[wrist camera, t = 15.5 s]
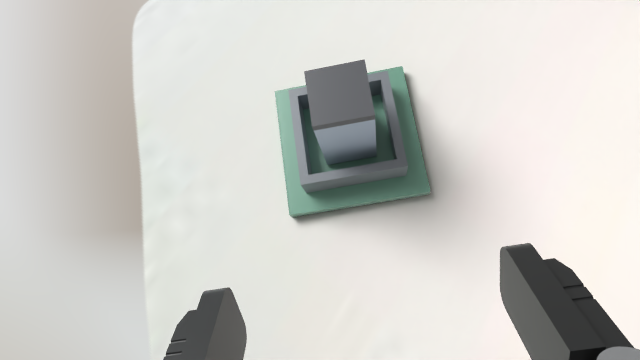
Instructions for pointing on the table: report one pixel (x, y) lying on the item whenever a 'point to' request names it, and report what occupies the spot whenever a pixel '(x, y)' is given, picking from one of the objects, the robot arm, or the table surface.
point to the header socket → (358, 175)
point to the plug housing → (342, 111)
